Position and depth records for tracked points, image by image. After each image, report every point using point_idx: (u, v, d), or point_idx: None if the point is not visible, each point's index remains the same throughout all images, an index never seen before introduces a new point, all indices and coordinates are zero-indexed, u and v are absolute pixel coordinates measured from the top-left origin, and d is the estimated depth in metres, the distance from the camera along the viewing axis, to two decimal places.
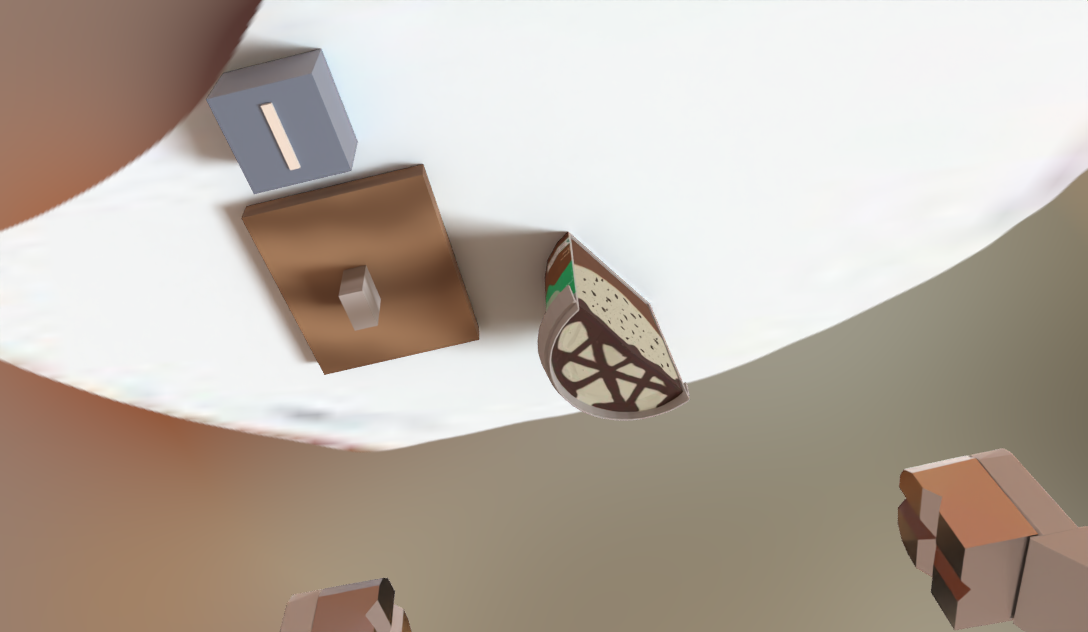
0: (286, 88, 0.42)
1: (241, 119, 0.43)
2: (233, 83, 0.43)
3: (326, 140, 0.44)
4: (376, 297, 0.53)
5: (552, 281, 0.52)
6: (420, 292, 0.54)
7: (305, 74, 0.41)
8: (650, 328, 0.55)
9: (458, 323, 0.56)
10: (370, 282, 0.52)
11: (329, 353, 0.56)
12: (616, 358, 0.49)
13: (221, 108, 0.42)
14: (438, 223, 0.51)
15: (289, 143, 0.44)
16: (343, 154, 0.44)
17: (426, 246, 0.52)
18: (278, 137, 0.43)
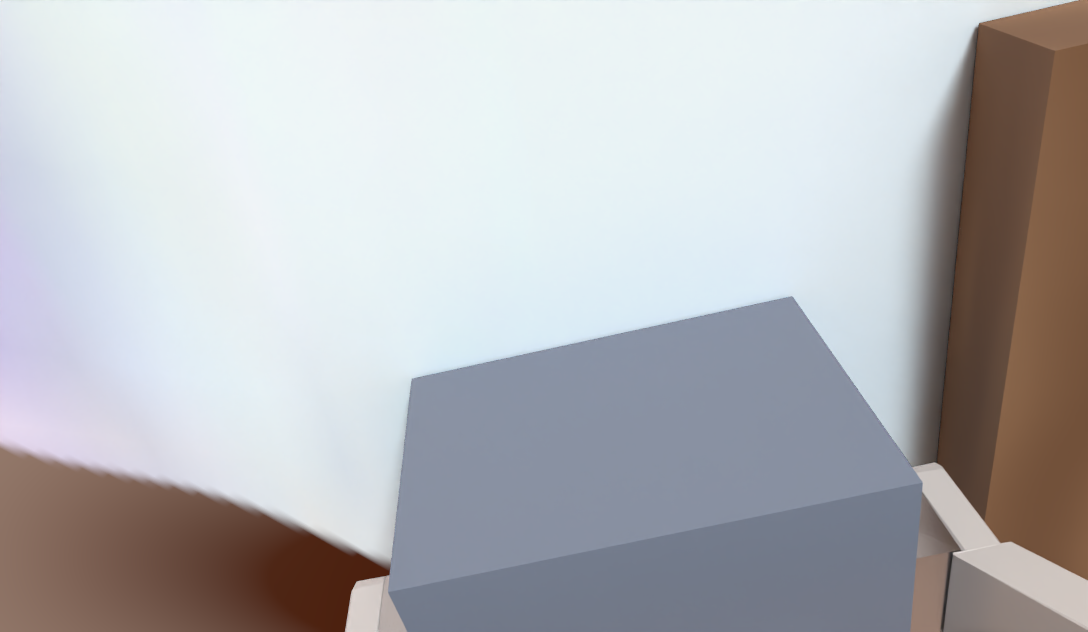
0: None
1: None
2: None
3: (731, 563, 0.09)
4: None
5: None
6: None
7: (399, 606, 0.09)
8: None
9: None
10: None
11: None
12: None
13: None
14: None
15: None
16: (822, 507, 0.08)
17: None
18: None
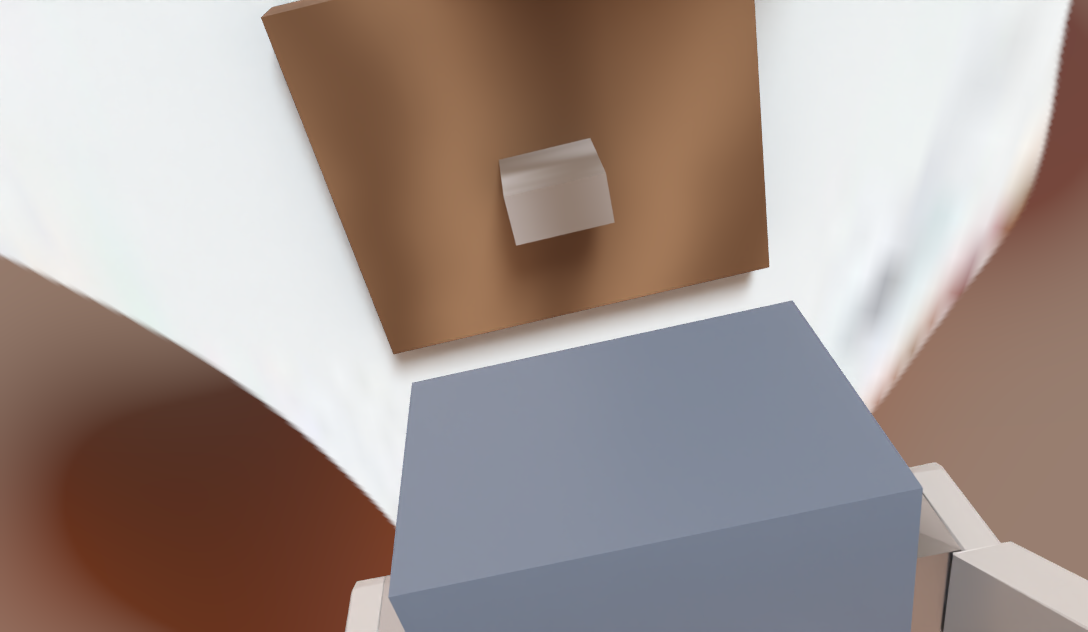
0: None
1: None
2: None
3: (732, 568, 0.09)
4: (570, 151, 0.24)
5: None
6: (580, 47, 0.23)
7: (399, 611, 0.09)
8: None
9: None
10: (531, 159, 0.24)
11: (715, 252, 0.27)
12: None
13: None
14: None
15: None
16: (823, 512, 0.08)
17: (453, 22, 0.22)
18: None
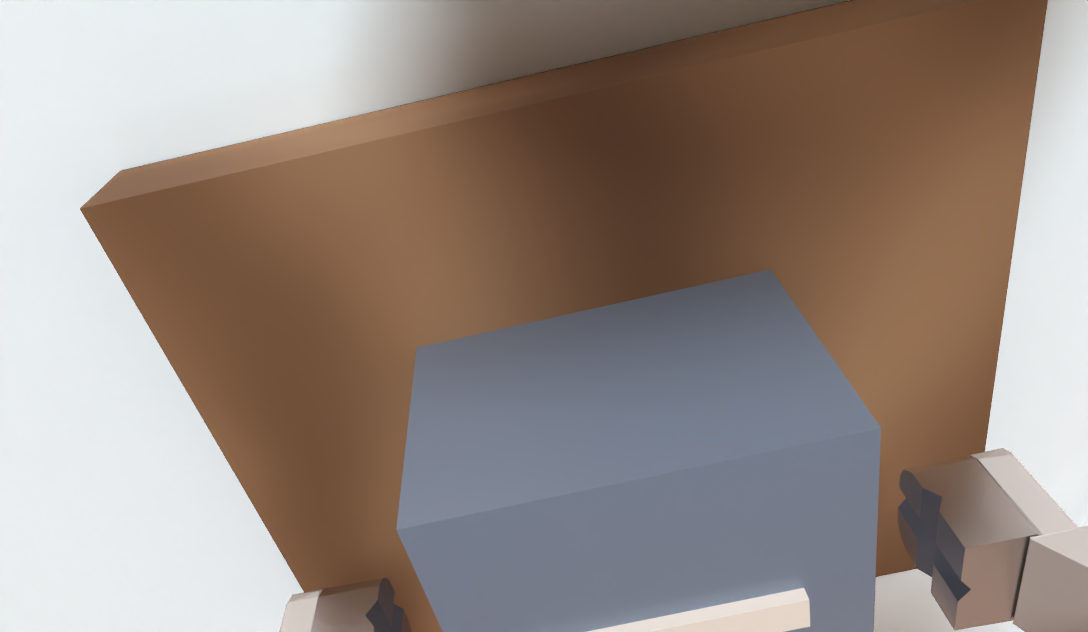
0: (467, 604, 0.10)
1: None
2: None
3: (709, 504, 0.10)
4: None
5: None
6: (690, 250, 0.12)
7: (406, 544, 0.10)
8: None
9: (909, 92, 0.11)
10: None
11: (886, 541, 0.16)
12: None
13: None
14: (326, 155, 0.11)
15: (695, 618, 0.11)
16: (790, 451, 0.09)
17: (453, 212, 0.12)
18: None
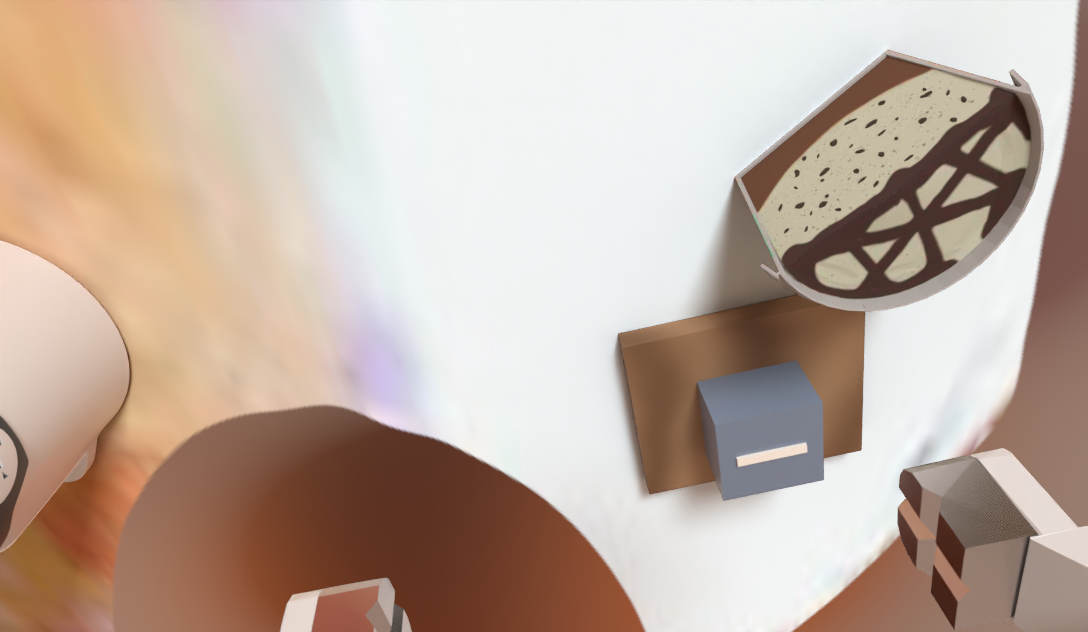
0: (725, 445, 0.43)
1: (747, 479, 0.45)
2: (714, 468, 0.46)
3: (784, 419, 0.42)
4: None
5: None
6: (774, 355, 0.45)
7: (715, 429, 0.42)
8: (907, 89, 0.35)
9: (832, 318, 0.44)
10: None
11: (832, 443, 0.49)
12: (899, 212, 0.32)
13: (734, 491, 0.45)
14: (685, 335, 0.44)
15: (779, 449, 0.43)
16: (803, 407, 0.42)
17: (714, 347, 0.44)
18: (771, 457, 0.44)
